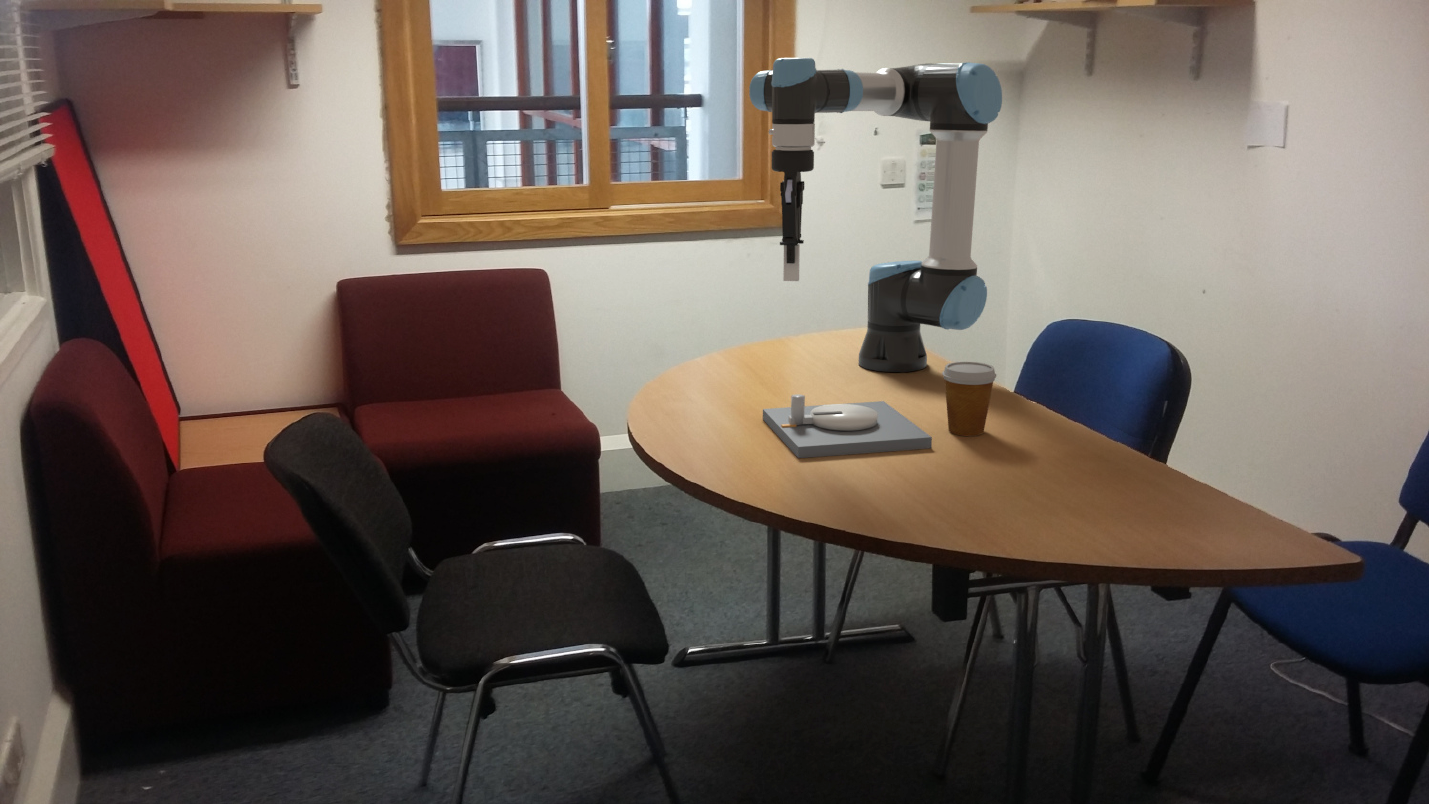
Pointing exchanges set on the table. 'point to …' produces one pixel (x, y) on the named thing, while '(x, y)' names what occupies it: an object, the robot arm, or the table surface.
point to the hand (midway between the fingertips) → (791, 280)
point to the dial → (832, 415)
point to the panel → (848, 433)
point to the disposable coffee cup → (968, 396)
